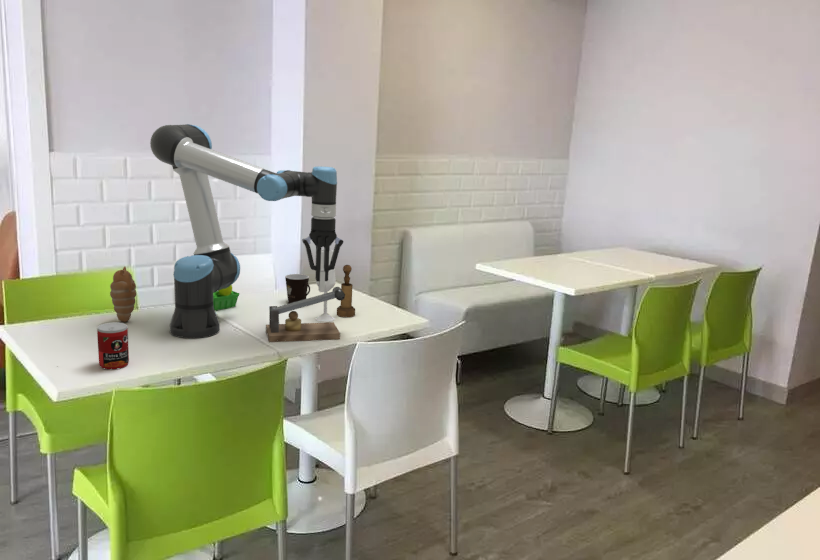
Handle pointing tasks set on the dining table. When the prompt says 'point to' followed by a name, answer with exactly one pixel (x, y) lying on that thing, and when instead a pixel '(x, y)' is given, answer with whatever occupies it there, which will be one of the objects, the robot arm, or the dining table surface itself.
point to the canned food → (113, 345)
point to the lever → (311, 301)
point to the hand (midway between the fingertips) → (321, 291)
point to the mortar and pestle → (346, 296)
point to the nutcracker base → (305, 333)
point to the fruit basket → (225, 298)
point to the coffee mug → (297, 287)
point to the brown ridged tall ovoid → (123, 294)
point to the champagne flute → (327, 287)
